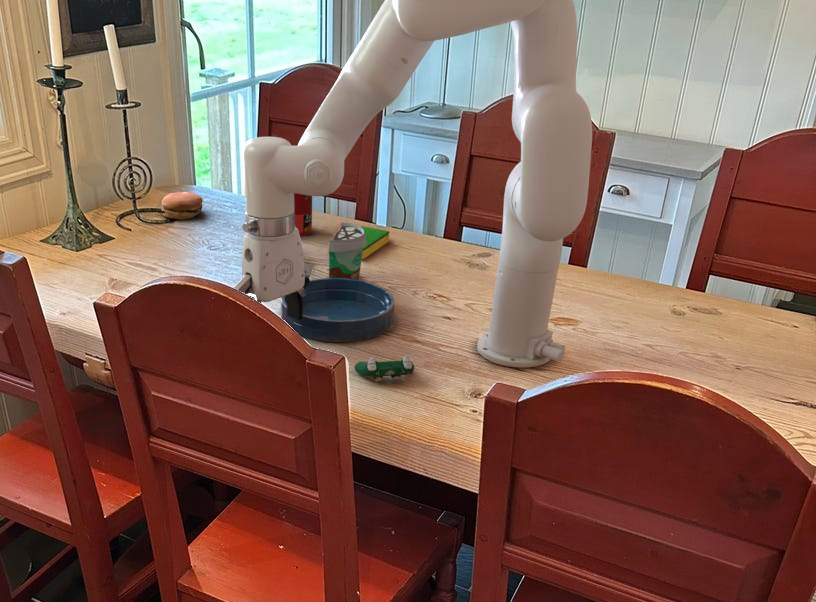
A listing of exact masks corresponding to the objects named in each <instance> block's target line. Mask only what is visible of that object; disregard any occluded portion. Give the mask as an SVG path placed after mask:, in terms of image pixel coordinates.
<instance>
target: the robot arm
mask: <svg viewBox="0 0 816 602" xmlns="http://www.w3.org/2000/svg"><path fill="white" fill-rule="evenodd" d="M508 23H509V24H510V26H511V31H512V37H513V38H512V39H513V63H514V66H513V67H514V69H513V91H512V92H513V93H512V94H513V97H512V107H511V108H512V109H511V110H512V111H511V125H512V130H513V132H514V135H515V137H516V138H517V140H518V142H520V161H519V162H518V163H517V164H516V165H515V166H514V168H513V169H512V170H511V172H510V173H509V176H508V178H507V180H506V184H505V189H504V194H503V195H504V196H503V211H502V226H501V228H502V229H501V238H500V246H499V254H498V261H497V268H496V275H495V282H494V289H493V290H494V291H493V297H492V305H491V312H490V319H489V324H488V325H489V327H488V333H485V334H483V335H482V336H480V337H479V339H478V340H477V345H476V350H477V352H478V353H479V355H480V356H481V357H483V358H484V359H485V360H487V361H489V362H492V363H494V364H496V365H499V366H505V367H509V368H517V369H518V368H519V369H520V368H521V369H522V368H523V369H524V368H526V369H528V368H535V367H539V366H540V367H541V366H543V365H545V364H547V363H548V362H550V361H551V360H552V361H555V362H558V363H560V362H562V360H563V359H564V356H565V349H566V346H565V344H562V343H559V342H556V341H555V342H554V340H553V335H554V331H553V330H551V329H549V323H550V317H551V312H552V306H553V301H554V295H555V289H556V285H557V279H558V273H559V268H560V263H561V257H562V253H563V244H564V238H566V237H568V236H570V235H571V234H572V233H573V232H574V231H575V230H576V229H577V228H578V226H579V225H580V224H581V222H582V221H583V218H584V215H585V213H586V209H587V203H588V196H589V185H590V171H591V162H592V161H591V160H592V159H591V158H592V145H593V121H592V116H591V111H590V109H589V106H588V104H587V102H586V100H585V99H584V98H583V97H582V96H581V95H580V94H579V93H578V91H577V61H578V60H577V59H578V57H577V55H578V54H577V53H578V52H577V51H578V50H577V49H578V48H577V47H578V22H577V12H576V7H575V3H574V0H384V1H383V3H382V4H381V5H380V8H379V9H378V10H377V13H376V14H375V15H374V18H373V19H372V20H371V23H370V24H369V25H368V27H367V29H366V31H365V32H364V34H363V35H362V37H361V39H360V41H359V42H358V43H357V45H356V47H355V48H354V50H353V52H352V53H351V54H350V57H349V58H348V60H347V62H346V63H345V64H344V66H343V68H342V70H341V71H340V73H339V75H338V77H337V79H336V81H335V83H334V84H333V85H332V87H331V89H330V91H329V92H328V94H327V95H326V97H325V98H324V99H323V102H322V103H321V104H320V106H319V108H318V110H317V111H316V112H315V114H314V116H313V118H312V119H311V121H310V122H309V124H308V126H307V128H306V129H305V131H304V133H302V136H301V137H300V140H299V141H298V144H297V145H292V144H291V143H290V141H289V140H287V139H285V138H282V137H279V136H257V137H253V138H250V139H248V140H247V141H245V143H244V144H243V147H242V169H243V172H242V173H243V188H244V206H245V209H244V210H245V222H244V223H242V230H243V232H244V233H246V234H244V238H243V244H242V253H241V254H242V256H241V279H240V280H238V282H237V283H236V284H235V285H234V286H233V287H232V288H235V289H237V290H239V291H241V292H243V294H244V293H245V294H247V295H249V296H250V297H252V300H254V299H255V300H256V301H258V302H260V303H261V304H262V303H269V302H272V301H275V300H277V299H281V297H283V296H286V295H287V314H288V316H290V317H293V318H295V319H298V320H302V319H303V298H302V297H303V296H305V294H306V291H305V289H306V287H307V286H308V284H309V282H310V280H311V276H312V272H313V269H314V266H313V264H310V263H307V262H305V259H304V258H305V257H304V250H303V243H302V238H301V236H300V234H299V231H298V229H297V228H295V215H294V193H298V194H304V195H309V196H312V197H326V196H329V195H331V194H333V193H334V192H336V191H337V190H338V188H339V187H340V186H341V185H342V183H343V180H344V177H345V160H346V159H347V157H348V155H349V154H350V152H351V151H352V149H353V148H354V146H355V144H356V143H357V141H358V140H359V138H360V137H361V135H362V134H363V132H364V131H365V129H366V128H367V126H368V125H369V124H370V123H371V121H372V120H373V119H374V118H375V117H376V116H377V115H378V114H379V113H380V112H381V111H382V110H384V109H386V108H388V107H389V106H390V105H391V104H393V103H394V101H396V99H397V98H398V97H399V96H400V94H401V93H402V91H403V90H404V88H405V87H406V85H407V84H408V83H409V81H410V79H411V77H412V76H413V74H414V72H415V71H416V69H417V68H418V67H419V65H420V63H421V62H422V61H423V59H424V57H425V56H426V54H427V52H428V51H429V50H430V49H431V47H432V45H433V44H434V43H435V42H436V41H441V40H447V39H450V38H454V37H459V36H463V35H467V34H471V33H474V32H477V31H482V30H485V29H488V28H492V27H497V26H500V25H503V24H508ZM245 294H244V295H245Z"/></svg>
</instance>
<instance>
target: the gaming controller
mask: <svg viewBox="0 0 816 602" xmlns="http://www.w3.org/2000/svg"><path fill="white" fill-rule="evenodd" d="M354 370H355V372H356V373H357V374H358V375H359V376H361V377H364V378H369V379H371V378H373V380H374V381H375V382H381V381H382V380H383V378H384V377H391V379H392V380H393V381H399V380H400V379H401V377H402V376H408V375H412V374H413V373H414V372H415V364H414V362H413V361H412V359H411V357H410V356H409V355H403V357H402V358H401V360H386V361H377V360H376V358H375V357H373V356H371V357H369V359H368V360H367V361H365V360H364V361H363V360H362V361H357V362H356V364H355V365H354Z"/></svg>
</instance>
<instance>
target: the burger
mask: <svg viewBox="0 0 816 602" xmlns="http://www.w3.org/2000/svg"><path fill="white" fill-rule="evenodd" d="M203 202H204V199H203V197H201V196H200V195H199V194H197V193H193V192H191V191H187V190H186V191H176V192H171V193H168V194H166V195H165V196H164V197H163V198H162V200H161V206H160V209H161V212H162V211H164V212H165V213H162V216H163V217H165V218H168V219H173V220H182V221H183V220H189V219H192V218H194V217H196V216H197V215H198V214H200V213H201V212H202V210H203Z"/></svg>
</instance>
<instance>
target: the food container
mask: <svg viewBox="0 0 816 602" xmlns="http://www.w3.org/2000/svg"><path fill="white" fill-rule="evenodd" d="M366 243H367V241H366V235H365V233H364V230H363V229H362V228H361V226H359V225H357V224H353V223H350V222H346V221H345V222H344V221H340V228H339V230H338V231H337V232H336V233H335V235H334V237H333V239H329V240H328V278H348V279H356V280H360V274H361V267H362V260H363V259H362V250H363V247H364V246H365V245H366Z"/></svg>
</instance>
